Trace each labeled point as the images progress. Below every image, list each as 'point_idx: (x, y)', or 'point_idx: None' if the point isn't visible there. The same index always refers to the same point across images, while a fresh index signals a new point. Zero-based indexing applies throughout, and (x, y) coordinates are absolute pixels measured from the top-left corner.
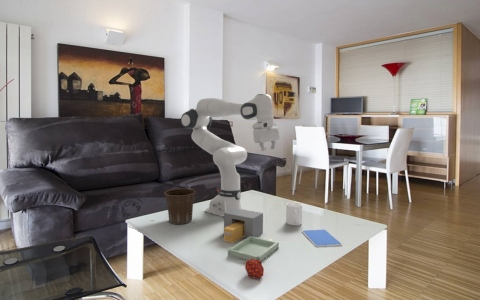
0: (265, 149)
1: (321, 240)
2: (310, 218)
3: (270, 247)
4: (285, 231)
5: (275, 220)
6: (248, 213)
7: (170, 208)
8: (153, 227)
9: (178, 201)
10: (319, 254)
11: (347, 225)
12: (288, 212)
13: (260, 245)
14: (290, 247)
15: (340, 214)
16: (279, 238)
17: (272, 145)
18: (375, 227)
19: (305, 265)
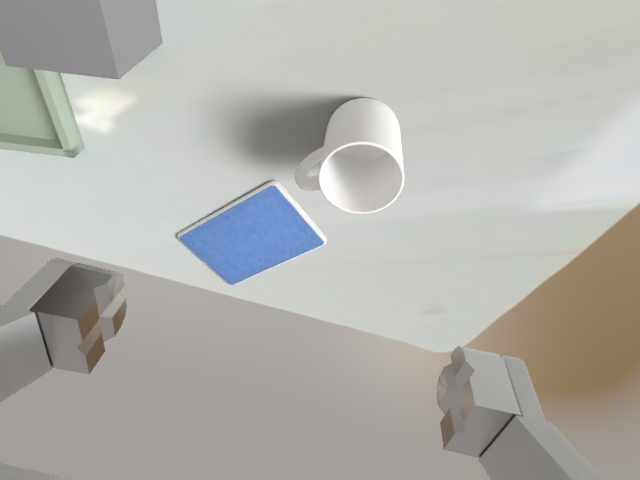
0: (107, 336)
1: (223, 244)
2: (463, 178)
3: (18, 147)
4: (243, 125)
5: (370, 33)
6: (45, 2)
7: None
8: None
9: None
10: (136, 247)
11: (416, 288)
12: (326, 142)
13: (37, 92)
14: (118, 177)
15: (557, 266)
16: (160, 126)
17: (509, 444)
18: (425, 340)
19: (53, 230)
